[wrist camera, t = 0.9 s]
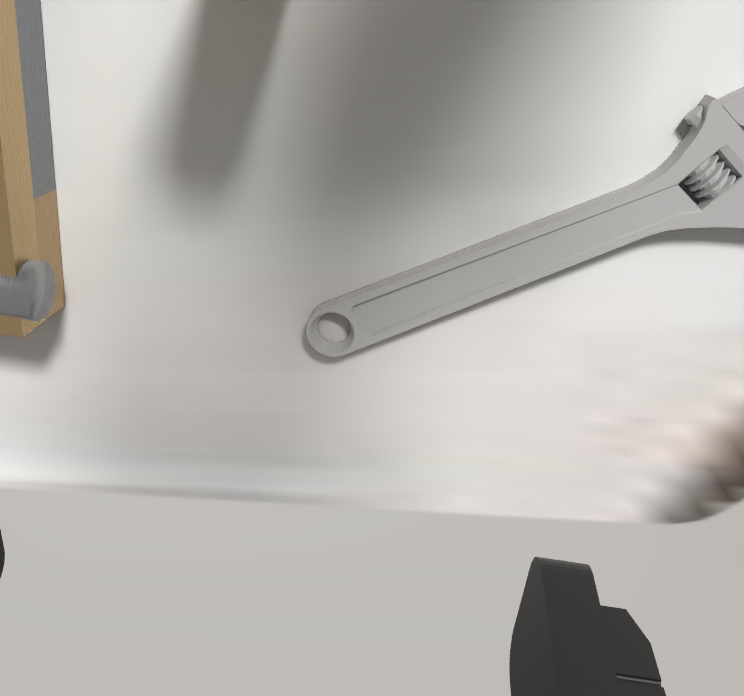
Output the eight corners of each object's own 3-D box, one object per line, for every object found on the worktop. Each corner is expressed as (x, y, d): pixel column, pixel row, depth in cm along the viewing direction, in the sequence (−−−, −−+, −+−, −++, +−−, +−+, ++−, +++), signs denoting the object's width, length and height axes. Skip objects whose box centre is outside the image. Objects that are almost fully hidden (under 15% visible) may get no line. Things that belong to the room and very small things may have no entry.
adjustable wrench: (324, 352, 37) (318, 368, 35) (275, 238, 34) (266, 250, 33) (853, 198, 31) (875, 208, 29) (838, 47, 28) (861, 49, 27)
